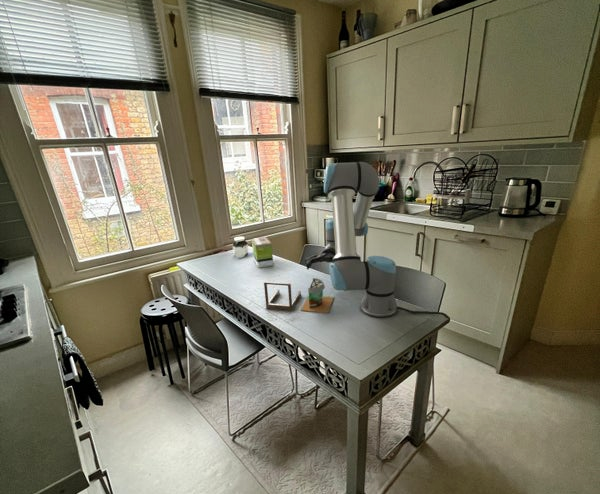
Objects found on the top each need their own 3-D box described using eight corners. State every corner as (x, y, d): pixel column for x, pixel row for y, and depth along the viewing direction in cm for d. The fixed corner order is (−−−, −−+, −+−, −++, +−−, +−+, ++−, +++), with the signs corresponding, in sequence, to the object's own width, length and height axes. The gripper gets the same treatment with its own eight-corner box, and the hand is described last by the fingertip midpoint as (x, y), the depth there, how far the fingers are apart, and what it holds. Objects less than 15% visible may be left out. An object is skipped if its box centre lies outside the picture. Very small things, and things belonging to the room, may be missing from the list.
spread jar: (244, 251, 223) (242, 235, 219) (253, 255, 215) (251, 238, 211) (229, 255, 217) (227, 239, 212) (238, 259, 209) (235, 242, 204)
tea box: (253, 260, 205) (251, 238, 199) (268, 258, 208) (266, 236, 201) (257, 268, 192) (255, 244, 186) (273, 265, 194) (271, 242, 188)
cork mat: (333, 298, 150) (333, 297, 149) (327, 313, 136) (327, 312, 136) (309, 296, 153) (309, 295, 152) (301, 310, 139) (301, 310, 139)
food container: (322, 310, 138) (322, 289, 134) (309, 309, 140) (308, 288, 135) (326, 297, 149) (326, 278, 145) (313, 297, 151) (312, 277, 146)
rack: (301, 295, 154) (300, 270, 148) (291, 311, 139) (290, 284, 134) (277, 293, 157) (275, 269, 151) (266, 308, 143) (263, 282, 137)
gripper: (353, 261, 164) (348, 276, 145) (307, 259, 170) (296, 273, 152) (354, 247, 161) (348, 260, 142) (306, 245, 167) (295, 258, 149)
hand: (321, 267), depth 147 cm, fingers open, 13 cm apart
